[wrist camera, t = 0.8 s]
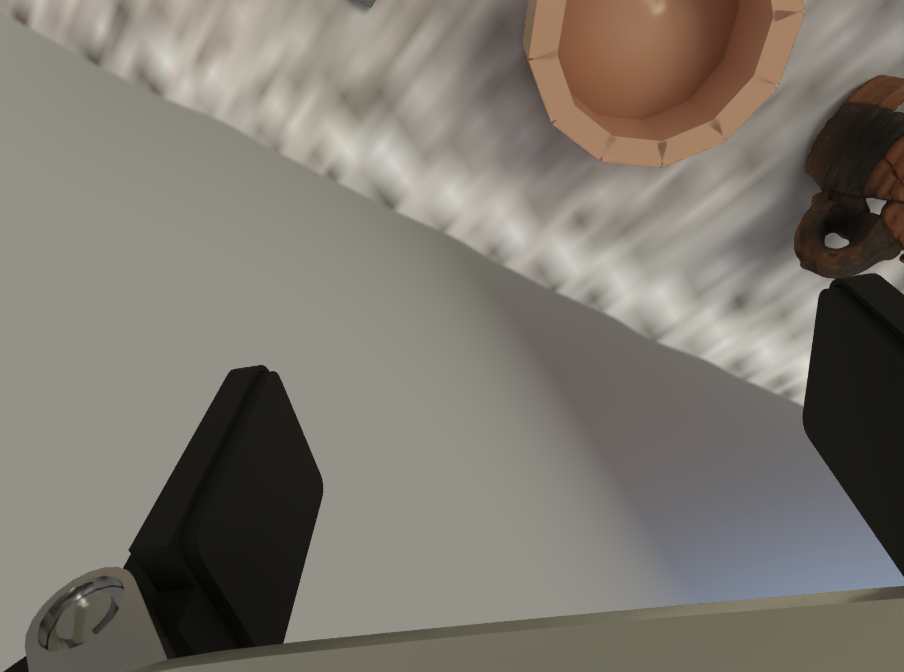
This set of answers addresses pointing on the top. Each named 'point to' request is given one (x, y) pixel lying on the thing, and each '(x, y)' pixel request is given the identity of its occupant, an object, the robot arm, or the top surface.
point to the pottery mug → (857, 184)
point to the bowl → (656, 70)
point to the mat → (368, 2)
